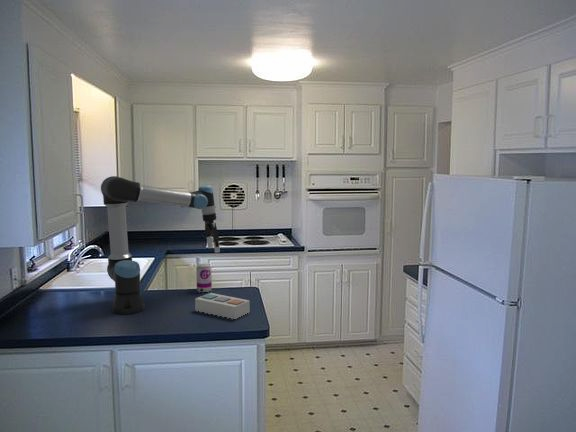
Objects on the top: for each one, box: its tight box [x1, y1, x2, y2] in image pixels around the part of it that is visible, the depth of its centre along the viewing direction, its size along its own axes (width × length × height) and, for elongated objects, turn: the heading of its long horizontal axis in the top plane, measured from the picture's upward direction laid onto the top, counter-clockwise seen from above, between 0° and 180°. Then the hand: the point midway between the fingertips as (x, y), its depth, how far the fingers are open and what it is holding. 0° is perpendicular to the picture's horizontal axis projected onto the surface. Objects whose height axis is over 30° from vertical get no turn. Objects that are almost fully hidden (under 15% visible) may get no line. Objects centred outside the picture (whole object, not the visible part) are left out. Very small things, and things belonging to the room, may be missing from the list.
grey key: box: [214, 297, 230, 303], centre depth 235 cm, size 6×6×4 cm
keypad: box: [194, 292, 251, 320], centre depth 235 cm, size 12×24×6 cm, turn 59°
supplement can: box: [196, 263, 213, 293], centre depth 270 cm, size 8×8×15 cm
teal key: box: [202, 293, 217, 300], centre depth 239 cm, size 6×6×4 cm
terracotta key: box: [227, 299, 244, 305], centre depth 231 cm, size 6×6×4 cm
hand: (213, 250), depth 272 cm, fingers open, 13 cm apart
